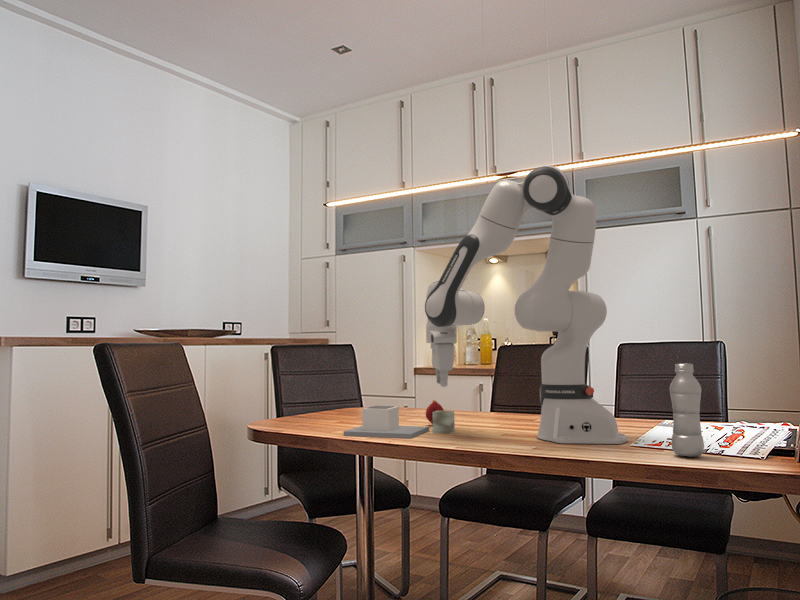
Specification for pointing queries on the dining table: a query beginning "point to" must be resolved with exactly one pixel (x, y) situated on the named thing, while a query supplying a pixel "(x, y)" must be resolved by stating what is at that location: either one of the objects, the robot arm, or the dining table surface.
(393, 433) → the build base
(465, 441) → the dining table surface
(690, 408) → the plastic bottle
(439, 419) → the sage block
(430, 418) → the onion
